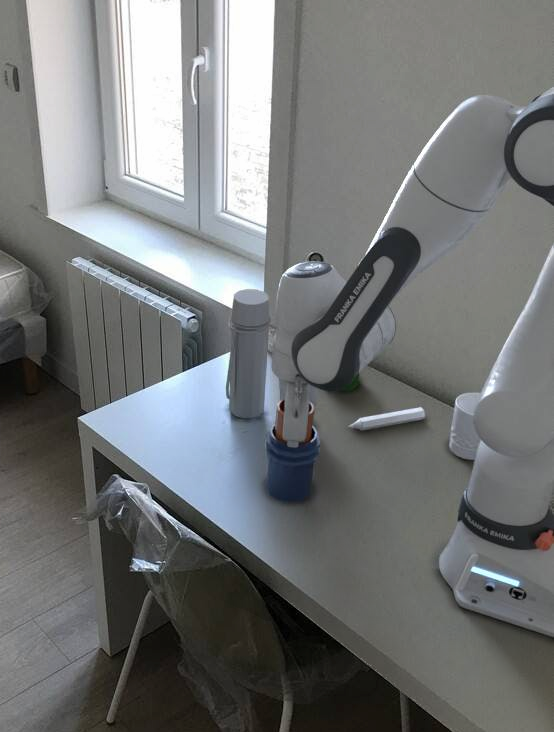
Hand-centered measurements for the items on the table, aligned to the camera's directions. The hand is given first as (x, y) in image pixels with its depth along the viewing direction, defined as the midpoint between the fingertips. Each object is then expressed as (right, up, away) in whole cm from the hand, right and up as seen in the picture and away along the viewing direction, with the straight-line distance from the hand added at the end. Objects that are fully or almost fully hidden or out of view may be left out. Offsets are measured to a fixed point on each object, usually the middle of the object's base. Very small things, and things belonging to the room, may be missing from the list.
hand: (293, 431), depth 142 cm
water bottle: (-6, +4, +27) cm, 28 cm away
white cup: (+35, -4, +15) cm, 38 cm away
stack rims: (0, -3, +2) cm, 4 cm away
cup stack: (0, -10, +7) cm, 12 cm away
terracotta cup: (0, -4, +3) cm, 5 cm away
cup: (+4, +1, +22) cm, 23 cm away
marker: (+21, +1, +22) cm, 31 cm away
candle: (+15, +10, +36) cm, 40 cm away
